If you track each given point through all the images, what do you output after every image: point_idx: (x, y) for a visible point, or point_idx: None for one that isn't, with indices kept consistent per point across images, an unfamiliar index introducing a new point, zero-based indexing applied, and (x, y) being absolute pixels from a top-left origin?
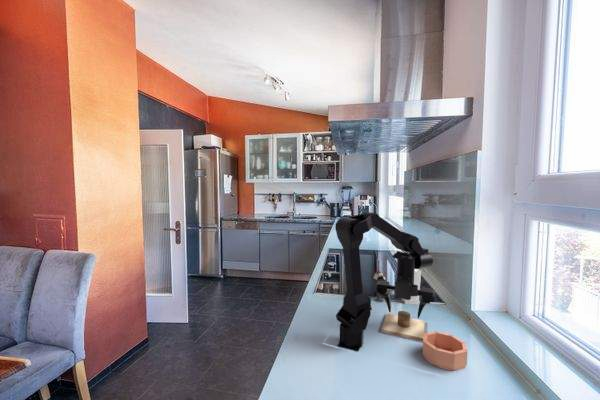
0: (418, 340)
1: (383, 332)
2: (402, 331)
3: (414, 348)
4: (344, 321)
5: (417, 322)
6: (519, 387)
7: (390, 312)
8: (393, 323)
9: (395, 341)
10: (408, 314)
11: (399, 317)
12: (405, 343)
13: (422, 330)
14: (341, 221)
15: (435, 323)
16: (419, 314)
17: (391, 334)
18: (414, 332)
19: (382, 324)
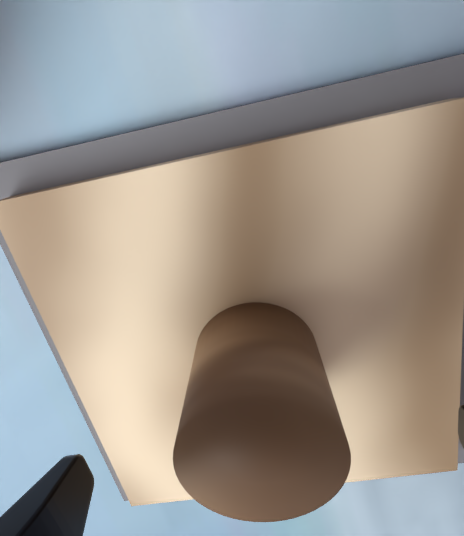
0: (52, 185)
1: (421, 97)
2: (220, 207)
3: (23, 3)
4: None
5: (166, 456)
6: None
7: (459, 407)
8: (356, 321)
9: (245, 9)
10: (198, 468)
11: (304, 371)
12: (140, 48)
13: (72, 352)
14: None
15: (89, 522)
16: (19, 509)
17: (323, 115)
18: (111, 268)
19: None
